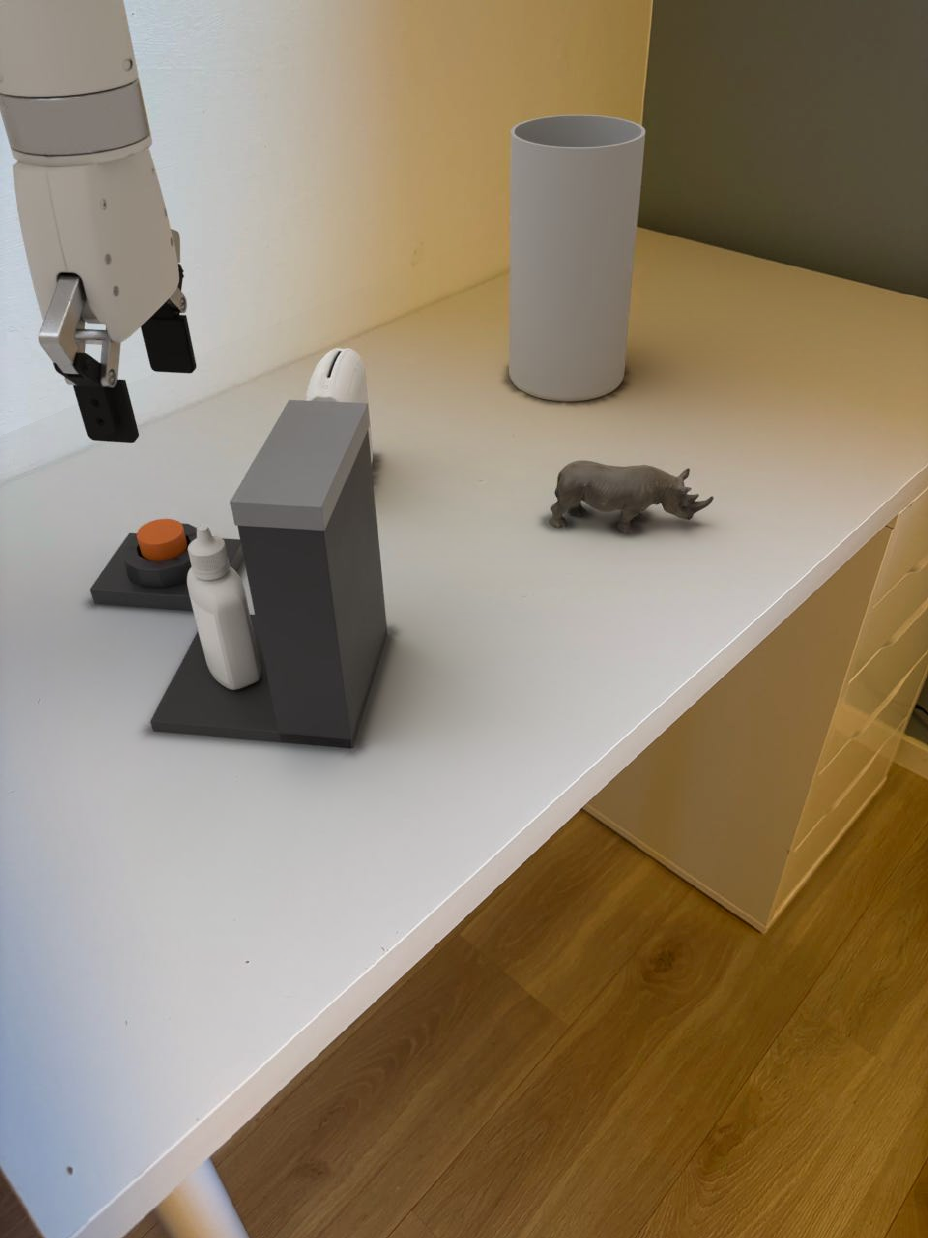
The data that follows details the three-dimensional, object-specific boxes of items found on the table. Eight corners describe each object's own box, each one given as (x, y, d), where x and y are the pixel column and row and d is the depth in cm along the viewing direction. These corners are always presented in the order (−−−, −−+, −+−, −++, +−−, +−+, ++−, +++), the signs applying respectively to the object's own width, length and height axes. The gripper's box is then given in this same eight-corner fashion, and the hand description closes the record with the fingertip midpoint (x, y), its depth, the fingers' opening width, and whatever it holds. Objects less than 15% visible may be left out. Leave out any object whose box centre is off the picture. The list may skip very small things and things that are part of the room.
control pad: (94, 606, 79) (83, 571, 77) (133, 548, 85) (124, 514, 83) (215, 614, 78) (207, 579, 76) (246, 555, 84) (239, 521, 82)
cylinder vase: (485, 377, 109) (483, 131, 93) (564, 344, 116) (575, 108, 100) (567, 416, 102) (580, 156, 86) (647, 378, 108) (673, 129, 92)
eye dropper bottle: (196, 694, 69) (159, 554, 62) (209, 642, 74) (176, 505, 66) (259, 692, 69) (230, 551, 62) (268, 640, 74) (242, 502, 66)
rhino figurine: (710, 543, 84) (720, 482, 80) (547, 533, 86) (550, 473, 82) (707, 516, 87) (717, 456, 83) (551, 507, 89) (553, 448, 85)
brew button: (134, 560, 79) (129, 542, 77) (151, 535, 81) (146, 517, 80) (178, 563, 78) (173, 545, 77) (193, 537, 81) (189, 519, 80)
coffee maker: (152, 734, 68) (76, 492, 56) (211, 622, 77) (157, 393, 65) (354, 752, 66) (321, 506, 54) (389, 635, 76) (368, 402, 63)
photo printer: (360, 516, 88) (347, 388, 81) (313, 514, 89) (295, 387, 81) (378, 457, 96) (367, 335, 89) (334, 456, 97) (320, 335, 89)
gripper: (83, 85, 62) (145, 345, 73) (-76, 162, 49) (29, 466, 59) (198, 86, 61) (243, 350, 72) (67, 165, 48) (147, 474, 58)
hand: (146, 403), depth 66 cm, fingers open, 9 cm apart
